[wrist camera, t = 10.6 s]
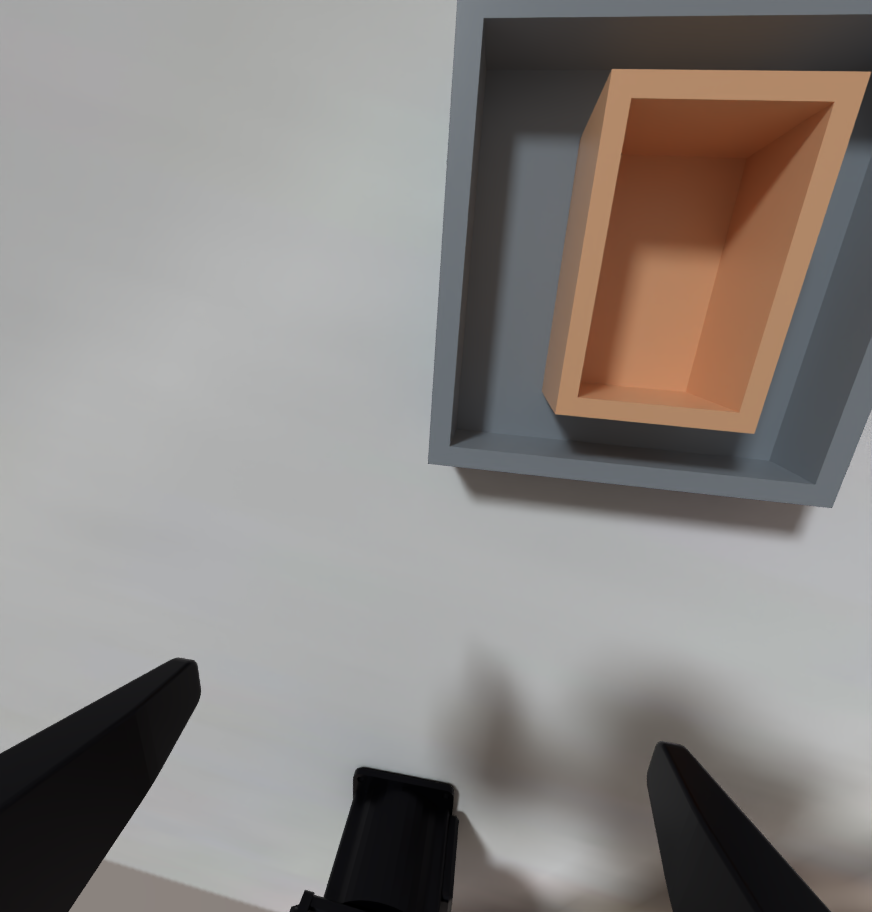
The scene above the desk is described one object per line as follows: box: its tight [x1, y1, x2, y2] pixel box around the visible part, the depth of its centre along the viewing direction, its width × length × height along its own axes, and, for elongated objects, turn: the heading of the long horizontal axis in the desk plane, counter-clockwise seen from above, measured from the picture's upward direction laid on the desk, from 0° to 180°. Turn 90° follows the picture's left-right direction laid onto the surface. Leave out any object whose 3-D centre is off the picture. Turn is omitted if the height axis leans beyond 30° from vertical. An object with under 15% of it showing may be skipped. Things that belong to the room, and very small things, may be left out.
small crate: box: [542, 69, 871, 434], centre depth 14 cm, size 6×9×4 cm, turn 176°
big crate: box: [428, 0, 872, 508], centre depth 15 cm, size 15×15×4 cm
